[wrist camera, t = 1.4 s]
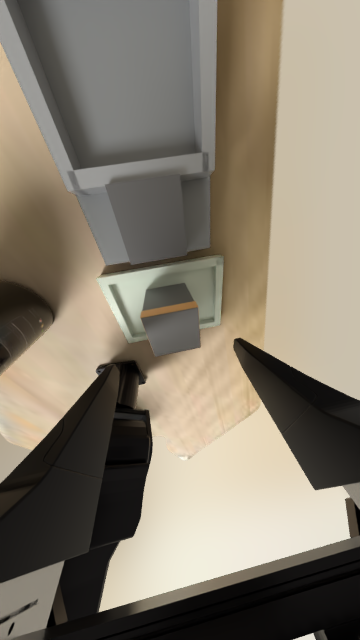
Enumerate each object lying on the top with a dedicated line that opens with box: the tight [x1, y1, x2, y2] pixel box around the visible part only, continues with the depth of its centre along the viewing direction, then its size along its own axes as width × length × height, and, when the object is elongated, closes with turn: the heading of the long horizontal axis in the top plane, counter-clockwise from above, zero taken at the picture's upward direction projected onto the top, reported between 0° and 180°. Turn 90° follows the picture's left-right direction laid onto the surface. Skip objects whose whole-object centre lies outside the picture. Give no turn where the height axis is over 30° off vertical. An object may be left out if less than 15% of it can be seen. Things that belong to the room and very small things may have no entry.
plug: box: [140, 283, 201, 357], centre depth 14 cm, size 5×5×6 cm
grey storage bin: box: [0, 0, 217, 266], centre depth 9 cm, size 12×10×4 cm
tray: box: [96, 254, 224, 343], centre depth 16 cm, size 9×13×1 cm
